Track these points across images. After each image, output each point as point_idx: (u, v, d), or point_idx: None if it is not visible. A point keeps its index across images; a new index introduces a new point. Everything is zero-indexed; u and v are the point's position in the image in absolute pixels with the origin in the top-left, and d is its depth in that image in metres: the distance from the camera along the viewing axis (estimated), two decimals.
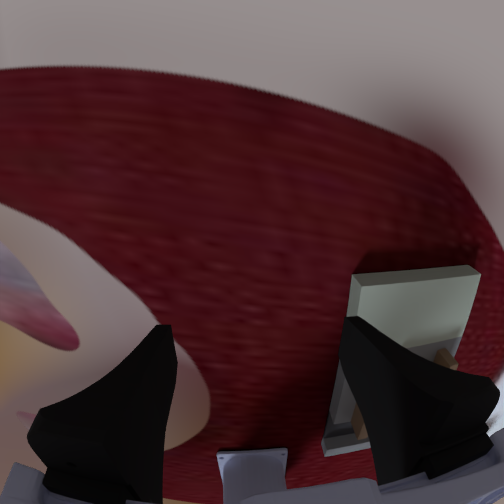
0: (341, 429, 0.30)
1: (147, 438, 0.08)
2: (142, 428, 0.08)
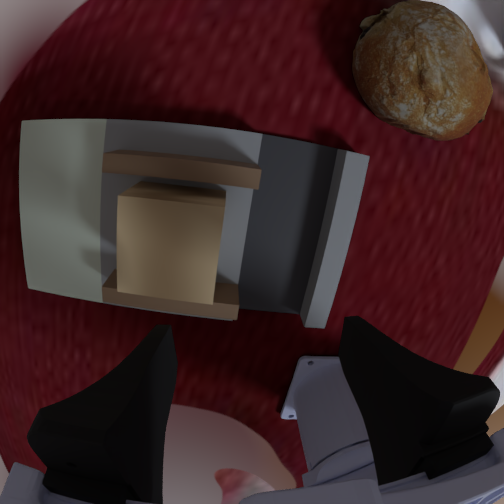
0: (287, 289, 0.22)
1: (147, 438, 0.08)
2: (142, 428, 0.08)
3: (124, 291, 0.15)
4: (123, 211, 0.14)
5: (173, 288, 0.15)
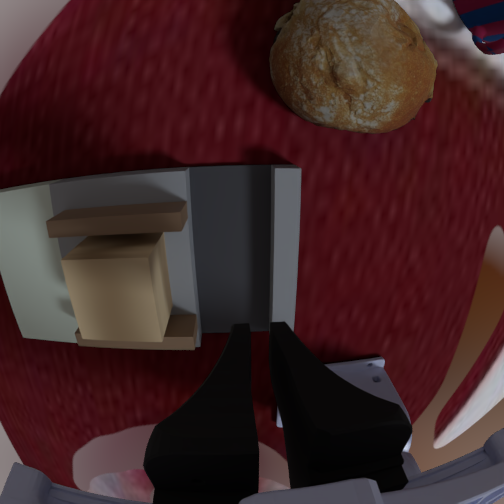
0: (250, 310, 0.23)
1: None
2: None
3: (88, 338, 0.16)
4: (68, 272, 0.15)
5: (125, 332, 0.16)
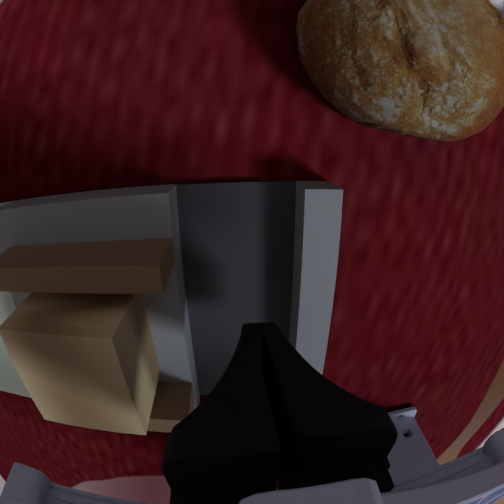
0: None
1: None
2: None
3: (51, 419, 0.10)
4: (9, 345, 0.09)
5: (96, 421, 0.10)
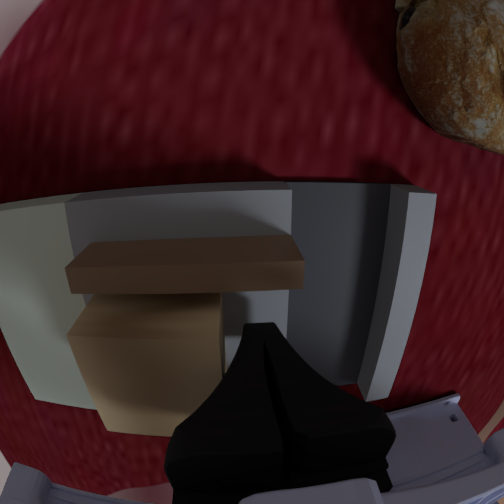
0: (341, 363, 0.17)
1: None
2: None
3: (115, 430, 0.11)
4: (79, 353, 0.09)
5: (174, 427, 0.10)
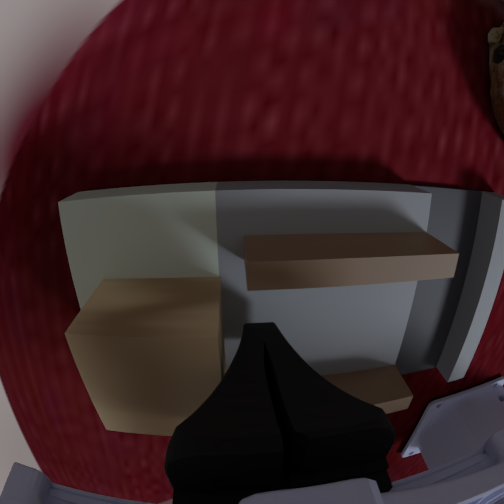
0: (429, 348, 0.17)
1: None
2: None
3: (114, 429, 0.11)
4: (78, 351, 0.09)
5: (173, 426, 0.10)
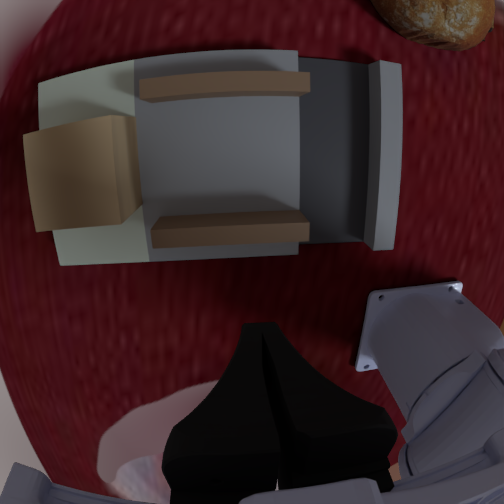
0: (347, 215, 0.20)
1: None
2: None
3: (41, 230, 0.13)
4: (28, 147, 0.12)
5: (81, 214, 0.13)
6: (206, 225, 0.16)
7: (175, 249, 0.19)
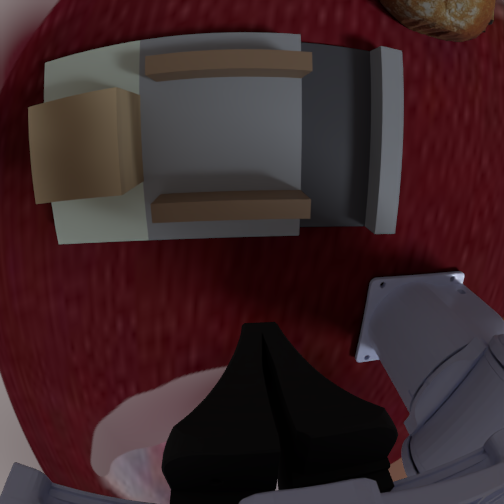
0: (349, 198, 0.20)
1: None
2: None
3: (41, 202, 0.13)
4: (32, 119, 0.12)
5: (82, 185, 0.13)
6: (207, 200, 0.16)
7: (175, 227, 0.18)
